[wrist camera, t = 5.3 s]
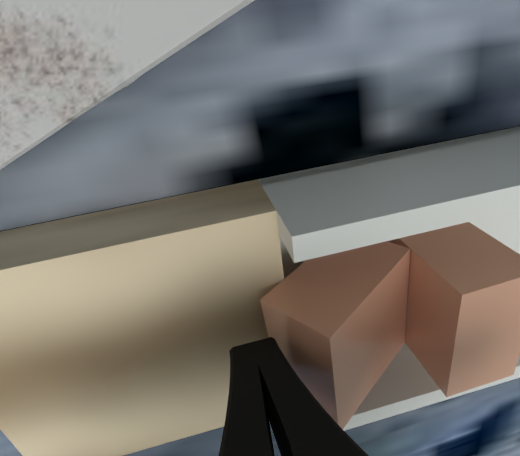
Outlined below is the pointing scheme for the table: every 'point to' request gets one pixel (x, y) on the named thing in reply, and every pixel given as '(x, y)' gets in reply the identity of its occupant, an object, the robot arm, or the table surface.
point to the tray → (400, 225)
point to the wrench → (84, 56)
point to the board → (131, 319)
